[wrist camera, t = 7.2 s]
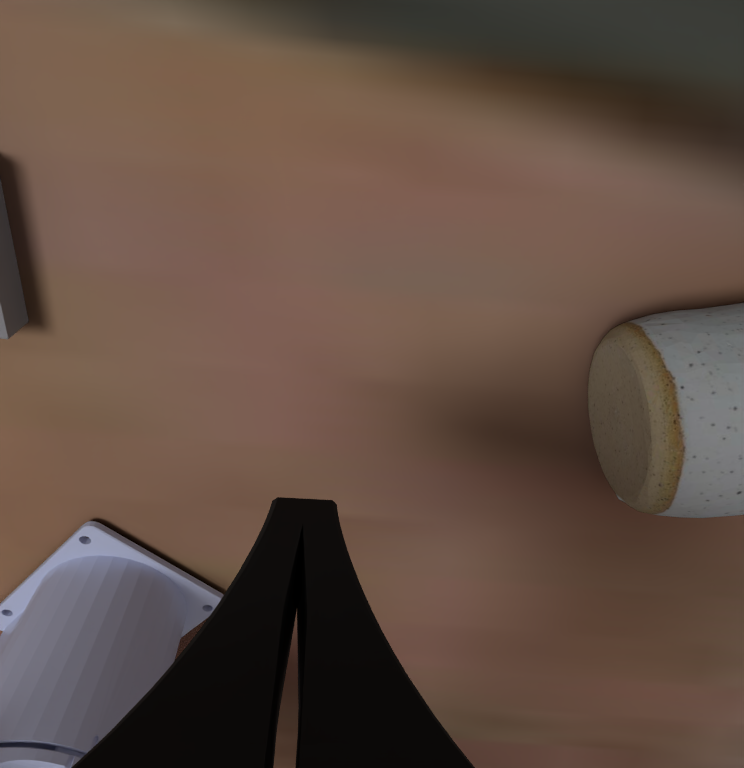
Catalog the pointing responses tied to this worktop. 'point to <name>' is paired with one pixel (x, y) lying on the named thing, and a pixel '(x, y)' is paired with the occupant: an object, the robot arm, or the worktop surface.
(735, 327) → the ceramic mug
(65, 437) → the worktop surface
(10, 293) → the tile
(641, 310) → the worktop surface
